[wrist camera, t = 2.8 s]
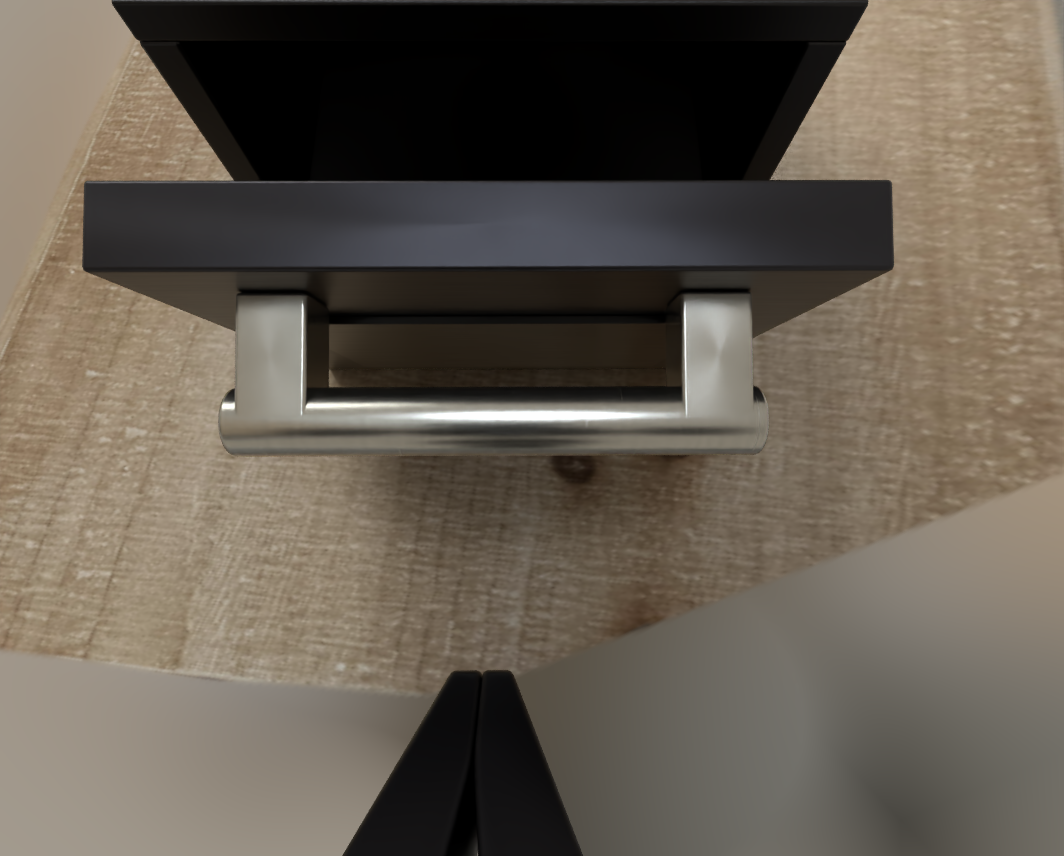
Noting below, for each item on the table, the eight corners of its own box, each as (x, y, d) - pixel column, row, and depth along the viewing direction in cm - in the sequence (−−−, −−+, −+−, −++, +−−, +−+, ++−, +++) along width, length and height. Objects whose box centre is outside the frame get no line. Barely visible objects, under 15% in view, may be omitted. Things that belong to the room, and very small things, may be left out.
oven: (688, 325, 23) (870, 3, 11) (333, 326, 23) (109, 2, 11) (662, 35, 28) (770, -430, 15) (363, 35, 28) (227, -434, 15)
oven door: (693, 451, 23) (900, 455, 10) (328, 452, 23) (75, 458, 10) (691, 327, 23) (894, 177, 10) (329, 328, 23) (81, 178, 10)
